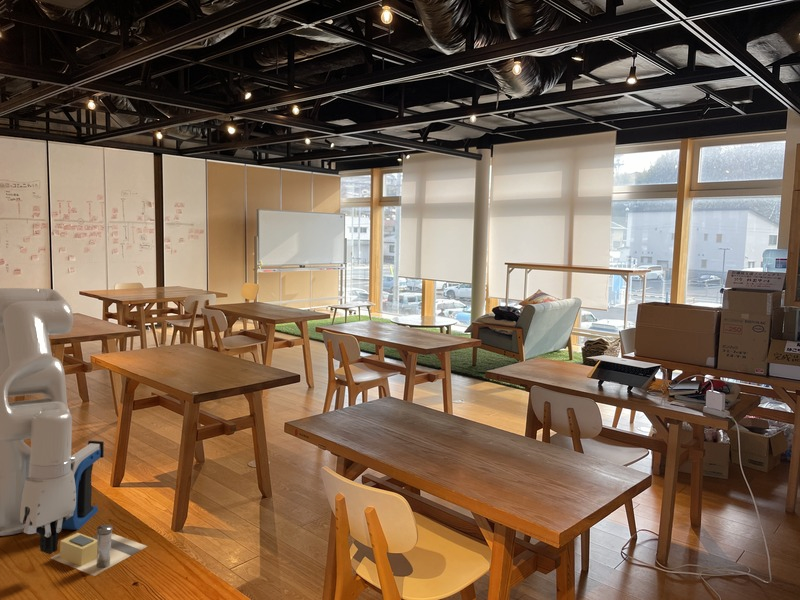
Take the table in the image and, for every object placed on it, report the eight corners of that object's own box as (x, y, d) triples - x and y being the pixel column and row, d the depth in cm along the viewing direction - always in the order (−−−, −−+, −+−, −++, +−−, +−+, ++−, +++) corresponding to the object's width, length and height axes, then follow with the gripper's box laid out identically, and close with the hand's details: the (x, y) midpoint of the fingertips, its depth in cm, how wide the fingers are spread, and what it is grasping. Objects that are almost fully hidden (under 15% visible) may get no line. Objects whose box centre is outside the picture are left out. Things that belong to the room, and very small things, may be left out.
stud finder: (59, 557, 135) (60, 539, 135) (77, 548, 140) (77, 531, 139) (81, 566, 133) (82, 547, 132) (98, 557, 137) (99, 539, 137)
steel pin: (92, 566, 133) (93, 528, 132) (104, 559, 136) (105, 523, 135) (102, 570, 132) (104, 532, 131) (114, 563, 135) (116, 526, 134)
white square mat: (50, 562, 135) (50, 557, 135) (105, 534, 149) (105, 530, 149) (94, 580, 130) (94, 575, 130) (147, 550, 143) (147, 546, 143)
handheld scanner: (103, 510, 161) (105, 440, 159) (73, 539, 145) (74, 462, 143) (86, 509, 161) (88, 439, 159) (54, 538, 145) (55, 461, 143)
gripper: (69, 455, 135) (67, 533, 136) (4, 476, 121) (2, 562, 122) (93, 461, 132) (91, 541, 133) (29, 483, 118) (27, 571, 119)
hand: (48, 551), depth 128 cm, fingers closed
